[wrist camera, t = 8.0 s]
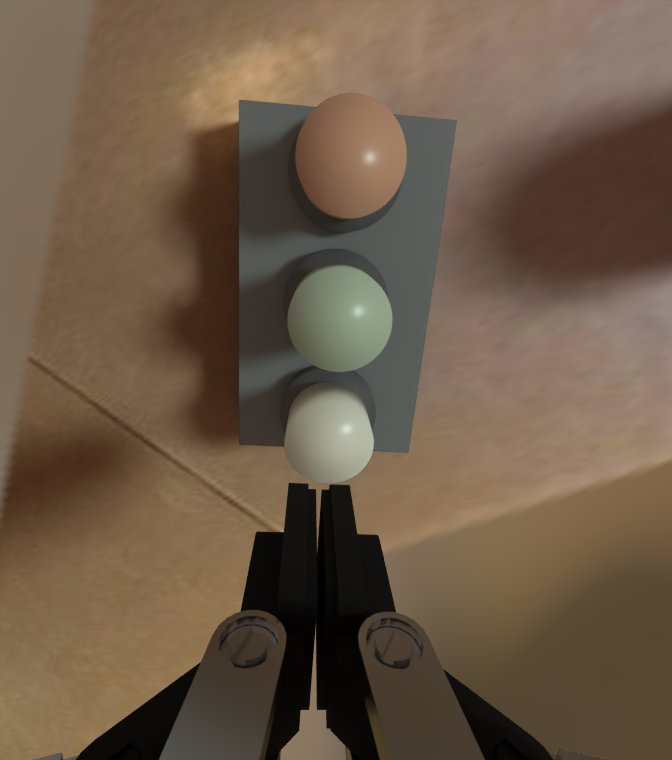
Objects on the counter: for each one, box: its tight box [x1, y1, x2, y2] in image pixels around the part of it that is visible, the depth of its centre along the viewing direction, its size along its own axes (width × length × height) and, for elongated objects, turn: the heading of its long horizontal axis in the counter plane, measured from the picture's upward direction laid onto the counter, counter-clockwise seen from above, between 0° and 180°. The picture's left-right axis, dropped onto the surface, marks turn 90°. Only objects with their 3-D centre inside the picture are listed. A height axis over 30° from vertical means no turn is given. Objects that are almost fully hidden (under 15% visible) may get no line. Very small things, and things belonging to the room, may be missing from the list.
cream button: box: [284, 382, 374, 483], centre depth 16 cm, size 3×3×2 cm
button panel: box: [239, 100, 457, 453], centre depth 18 cm, size 13×8×3 cm, turn 176°
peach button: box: [295, 93, 407, 220], centre depth 13 cm, size 3×3×2 cm
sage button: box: [287, 263, 392, 372], centre depth 14 cm, size 3×3×2 cm
